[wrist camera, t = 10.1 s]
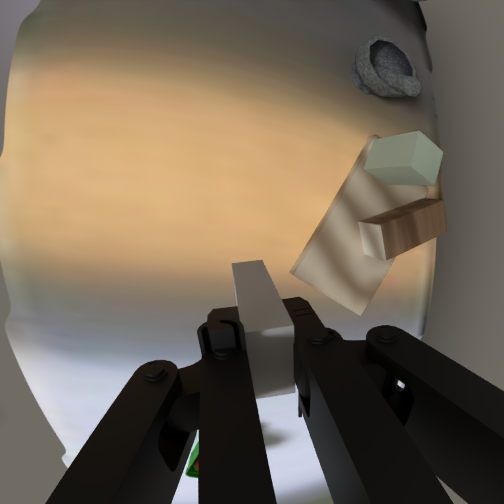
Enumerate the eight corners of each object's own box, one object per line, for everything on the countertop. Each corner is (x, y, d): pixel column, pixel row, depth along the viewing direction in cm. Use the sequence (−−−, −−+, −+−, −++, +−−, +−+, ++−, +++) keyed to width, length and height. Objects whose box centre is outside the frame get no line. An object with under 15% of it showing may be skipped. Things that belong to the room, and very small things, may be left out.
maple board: (369, 136, 40) (375, 134, 38) (422, 190, 44) (428, 190, 42) (289, 272, 41) (293, 275, 39) (355, 312, 45) (360, 316, 44)
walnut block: (384, 261, 37) (447, 231, 39) (378, 225, 36) (443, 200, 38) (364, 254, 42) (426, 226, 44) (358, 221, 40) (422, 198, 42)
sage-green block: (373, 139, 38) (419, 130, 29) (396, 156, 40) (443, 152, 30) (363, 169, 39) (409, 165, 29) (387, 184, 40) (434, 185, 31)
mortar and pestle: (342, 43, 36) (385, 11, 25) (389, 64, 38) (436, 42, 27) (338, 102, 38) (388, 78, 26) (388, 121, 40) (441, 107, 29)
